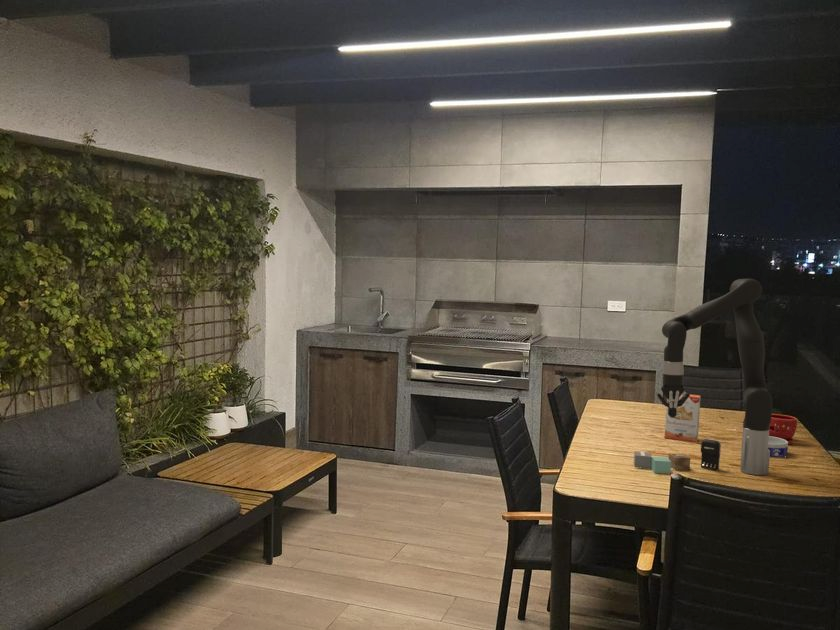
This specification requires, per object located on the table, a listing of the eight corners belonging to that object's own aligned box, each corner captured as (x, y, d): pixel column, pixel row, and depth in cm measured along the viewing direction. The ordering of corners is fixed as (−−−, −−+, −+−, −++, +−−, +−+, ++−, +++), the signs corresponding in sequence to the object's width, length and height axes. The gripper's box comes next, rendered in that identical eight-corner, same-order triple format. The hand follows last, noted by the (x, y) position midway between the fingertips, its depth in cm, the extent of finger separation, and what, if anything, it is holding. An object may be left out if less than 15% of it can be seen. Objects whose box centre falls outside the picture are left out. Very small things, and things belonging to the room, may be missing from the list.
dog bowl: (765, 459, 295) (766, 444, 294) (739, 449, 309) (740, 435, 309) (795, 457, 299) (796, 443, 298) (768, 447, 313) (769, 434, 313)
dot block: (682, 466, 280) (683, 453, 280) (689, 470, 274) (690, 457, 274) (668, 466, 280) (668, 453, 279) (674, 470, 274) (675, 457, 274)
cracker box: (664, 438, 325) (666, 393, 323) (666, 435, 330) (668, 391, 328) (696, 442, 318) (699, 397, 316) (698, 440, 323) (700, 395, 322)
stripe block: (649, 465, 280) (650, 452, 280) (650, 469, 275) (651, 456, 274) (633, 463, 282) (634, 451, 281) (634, 468, 276) (635, 454, 276)
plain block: (666, 469, 274) (667, 457, 274) (670, 474, 268) (671, 461, 268) (650, 469, 275) (651, 456, 275) (654, 473, 269) (654, 460, 269)
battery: (698, 467, 278) (700, 439, 277) (701, 465, 281) (703, 437, 280) (716, 471, 274) (718, 442, 273) (720, 469, 277) (721, 440, 276)
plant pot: (799, 446, 316) (801, 420, 315) (768, 444, 319) (769, 418, 318) (790, 439, 329) (792, 414, 328) (760, 437, 332) (761, 412, 331)
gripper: (687, 371, 276) (686, 415, 277) (652, 371, 276) (652, 415, 277) (693, 374, 268) (692, 419, 269) (658, 374, 269) (657, 419, 270)
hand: (672, 417), depth 273 cm, fingers closed
